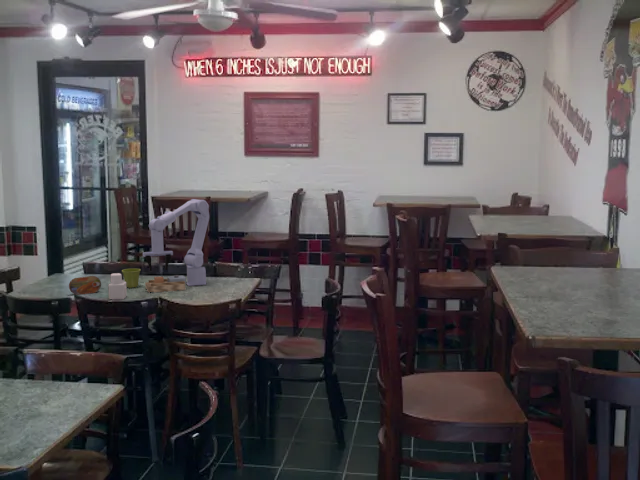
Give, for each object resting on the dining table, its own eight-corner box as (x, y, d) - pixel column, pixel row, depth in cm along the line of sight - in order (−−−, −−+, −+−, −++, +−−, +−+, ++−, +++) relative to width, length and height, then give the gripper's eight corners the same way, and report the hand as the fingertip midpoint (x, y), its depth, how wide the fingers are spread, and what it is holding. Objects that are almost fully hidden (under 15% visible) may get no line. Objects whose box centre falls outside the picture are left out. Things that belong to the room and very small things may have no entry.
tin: (70, 295, 341) (69, 278, 340) (68, 294, 344) (67, 277, 343) (101, 292, 349) (100, 275, 348) (100, 291, 352) (99, 274, 351)
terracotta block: (162, 288, 356) (162, 276, 356) (163, 289, 353) (163, 277, 352) (154, 288, 355) (154, 276, 354) (155, 290, 351) (155, 278, 351)
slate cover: (183, 280, 362) (183, 273, 362) (186, 283, 355) (185, 276, 354) (167, 281, 359) (167, 274, 359) (169, 284, 352) (169, 277, 351)
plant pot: (136, 288, 357) (135, 271, 355) (119, 288, 358) (118, 271, 357) (144, 285, 366) (143, 268, 365) (127, 284, 368) (126, 268, 366)
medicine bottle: (111, 296, 339) (110, 271, 337) (126, 296, 340) (125, 271, 338) (108, 299, 332) (107, 274, 330) (124, 299, 333) (123, 274, 331)
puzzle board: (181, 285, 364) (181, 277, 363) (185, 290, 353) (185, 281, 352) (145, 288, 358) (145, 280, 357) (148, 292, 347) (148, 284, 346)
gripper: (143, 245, 345) (144, 272, 347) (173, 243, 350) (174, 270, 352) (141, 243, 351) (142, 270, 353) (171, 241, 357) (172, 268, 358)
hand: (158, 270), depth 353 cm, fingers open, 7 cm apart
